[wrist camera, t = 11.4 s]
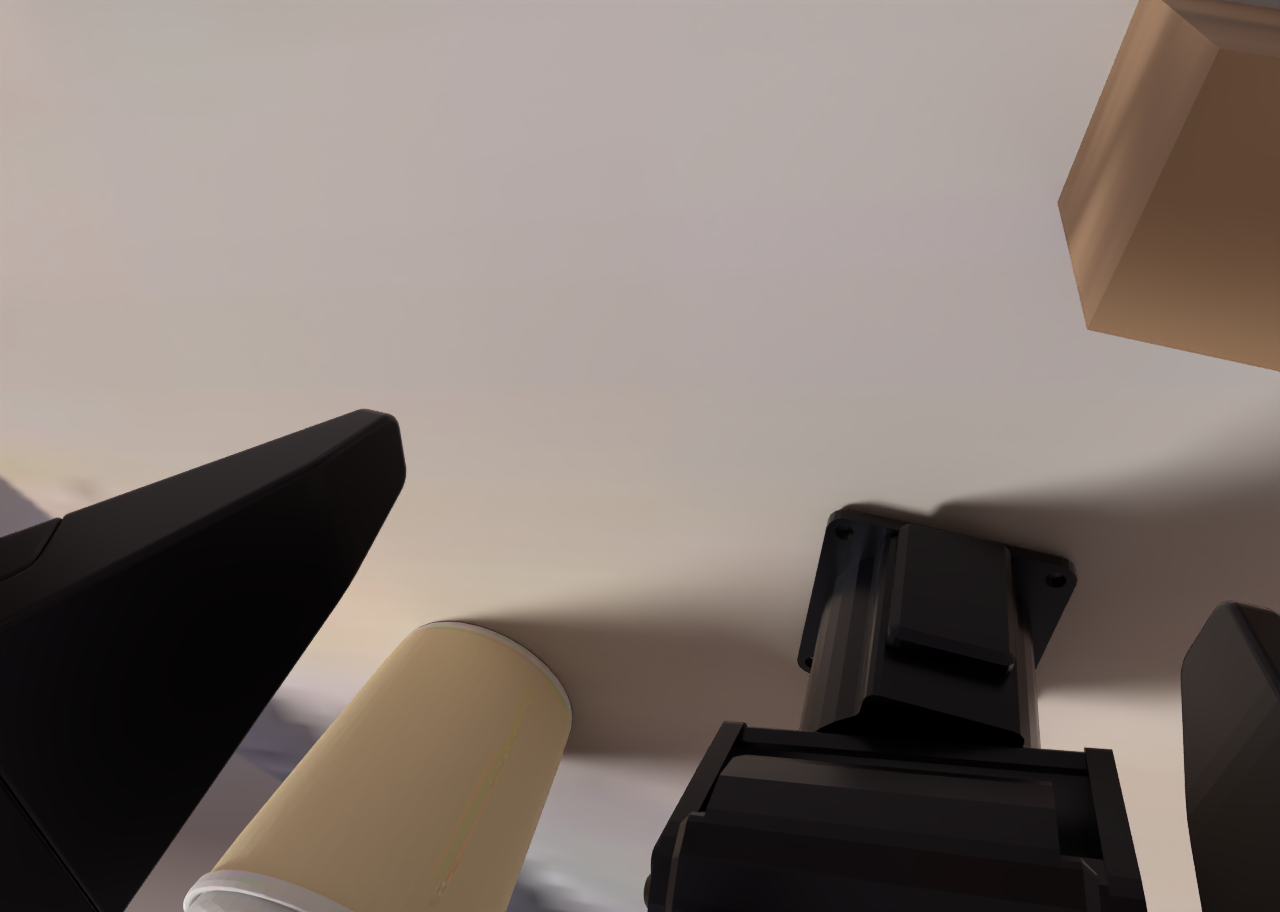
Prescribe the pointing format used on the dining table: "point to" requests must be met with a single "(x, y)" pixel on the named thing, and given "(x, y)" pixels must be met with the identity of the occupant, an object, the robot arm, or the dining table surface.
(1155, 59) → the bracket
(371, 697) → the coffee cup
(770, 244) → the dining table surface
